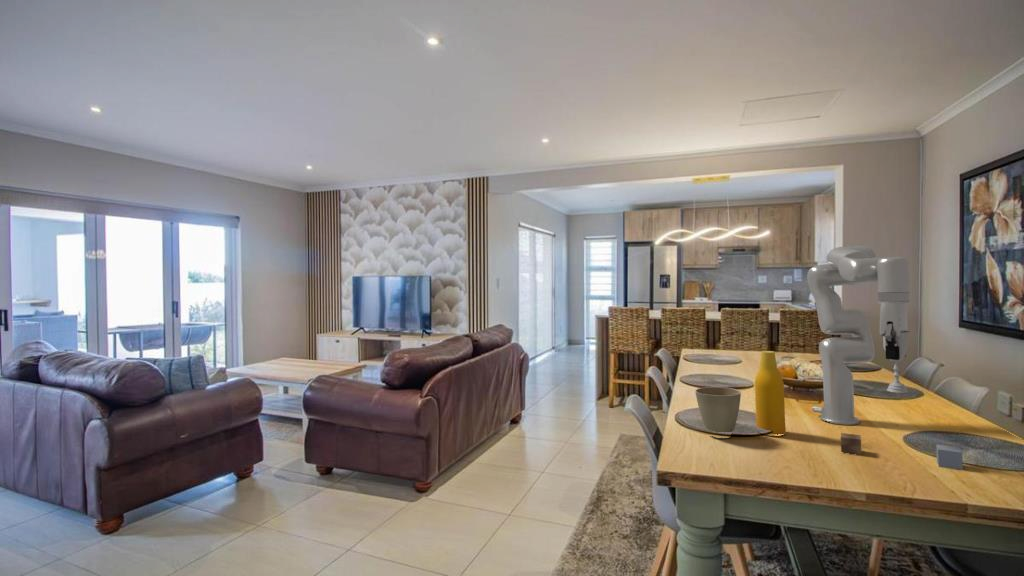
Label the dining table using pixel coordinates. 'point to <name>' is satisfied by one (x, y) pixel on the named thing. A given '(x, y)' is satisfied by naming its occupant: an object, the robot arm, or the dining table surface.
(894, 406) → the dining table surface
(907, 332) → the chalice
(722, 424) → the plant pot
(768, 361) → the beer bottle
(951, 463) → the slate block
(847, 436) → the walnut block
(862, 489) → the dining table surface
